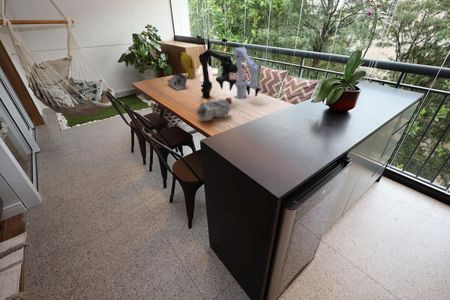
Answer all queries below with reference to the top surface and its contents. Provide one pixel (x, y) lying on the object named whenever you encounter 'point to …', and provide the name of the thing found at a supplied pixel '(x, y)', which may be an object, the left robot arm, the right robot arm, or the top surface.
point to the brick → (228, 100)
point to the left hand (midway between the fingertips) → (226, 89)
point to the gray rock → (177, 81)
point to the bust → (213, 110)
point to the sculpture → (188, 64)
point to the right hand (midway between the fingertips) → (252, 95)
